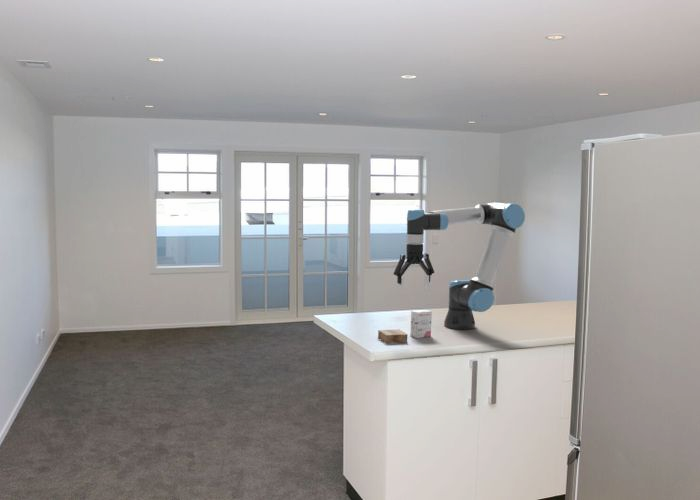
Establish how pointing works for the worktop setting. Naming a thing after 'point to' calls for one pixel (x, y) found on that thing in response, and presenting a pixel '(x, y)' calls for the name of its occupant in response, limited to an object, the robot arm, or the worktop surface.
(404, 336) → the walnut block
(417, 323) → the ink box
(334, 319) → the worktop surface
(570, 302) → the worktop surface
